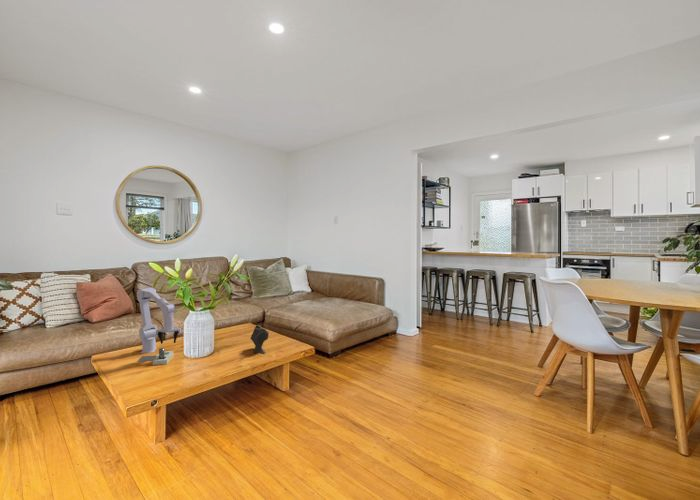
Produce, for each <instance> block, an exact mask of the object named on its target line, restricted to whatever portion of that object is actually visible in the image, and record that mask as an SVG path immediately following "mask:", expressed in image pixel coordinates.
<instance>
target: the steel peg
mask: <svg viewBox="0 0 700 500" xmlns="http://www.w3.org/2000/svg"><path fill="white" fill-rule="evenodd" d="M164 352H165V347H159V348H158V354H159V359H164Z"/></svg>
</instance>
